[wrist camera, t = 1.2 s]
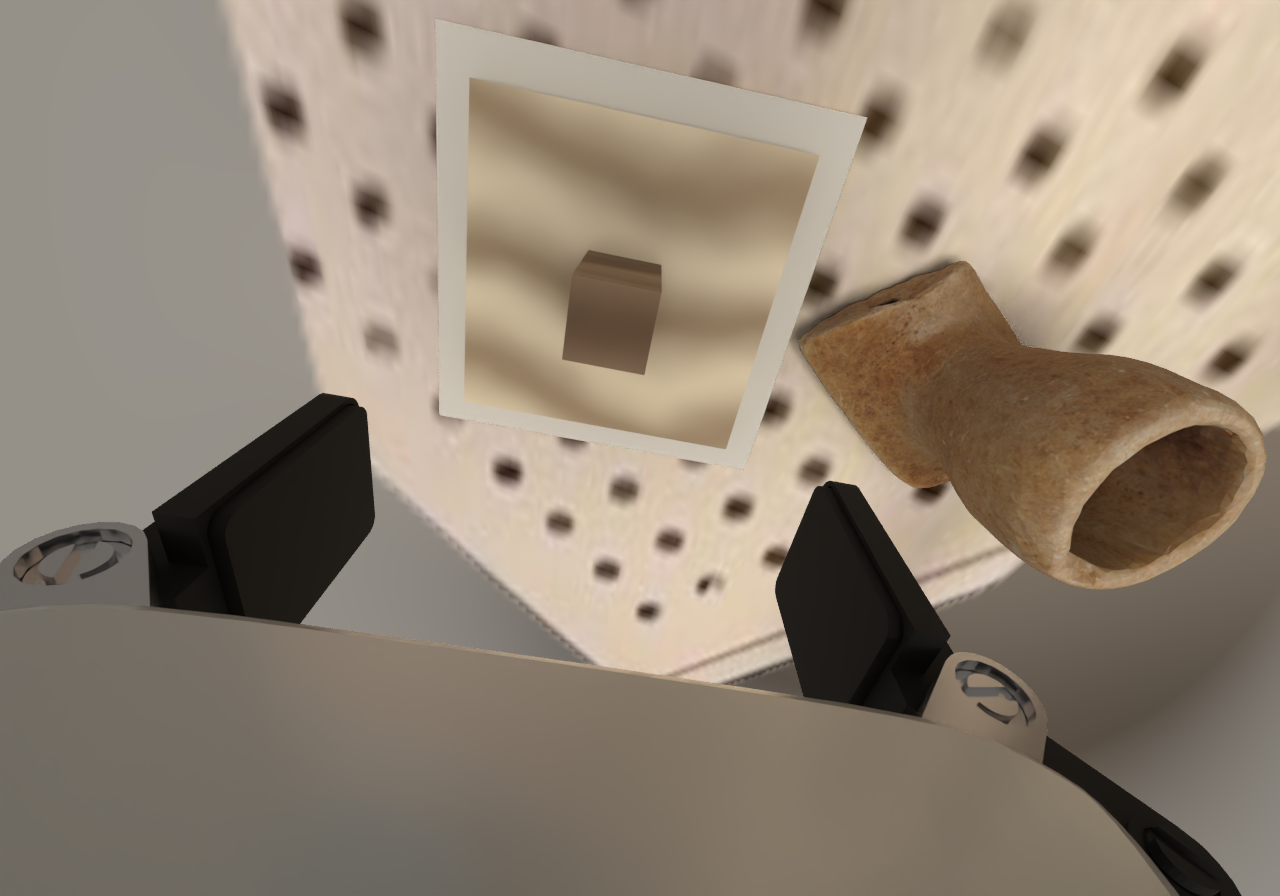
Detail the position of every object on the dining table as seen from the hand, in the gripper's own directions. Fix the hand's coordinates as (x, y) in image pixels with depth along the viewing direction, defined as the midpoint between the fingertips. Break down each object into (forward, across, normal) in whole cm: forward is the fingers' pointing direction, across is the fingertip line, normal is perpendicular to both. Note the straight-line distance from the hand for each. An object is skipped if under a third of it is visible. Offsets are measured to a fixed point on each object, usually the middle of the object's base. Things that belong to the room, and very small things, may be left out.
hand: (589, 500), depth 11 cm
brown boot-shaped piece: (+22, -20, +2) cm, 30 cm away
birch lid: (+22, 0, 0) cm, 22 cm away
